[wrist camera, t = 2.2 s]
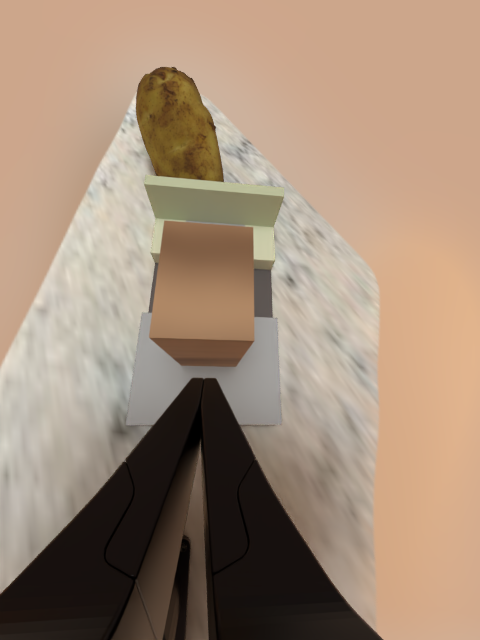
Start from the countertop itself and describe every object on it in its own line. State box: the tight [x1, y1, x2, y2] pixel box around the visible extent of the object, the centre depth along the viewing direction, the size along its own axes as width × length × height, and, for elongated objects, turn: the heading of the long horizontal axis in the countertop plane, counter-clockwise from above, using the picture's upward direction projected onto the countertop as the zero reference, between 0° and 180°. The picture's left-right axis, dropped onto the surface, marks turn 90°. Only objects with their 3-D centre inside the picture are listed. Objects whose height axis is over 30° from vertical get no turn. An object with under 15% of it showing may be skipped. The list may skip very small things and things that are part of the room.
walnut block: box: [149, 221, 255, 367], centre depth 16 cm, size 6×4×10 cm
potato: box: [136, 67, 224, 182], centre depth 24 cm, size 8×13×8 cm, turn 7°
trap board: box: [126, 175, 284, 425], centre depth 20 cm, size 20×12×6 cm, turn 179°
